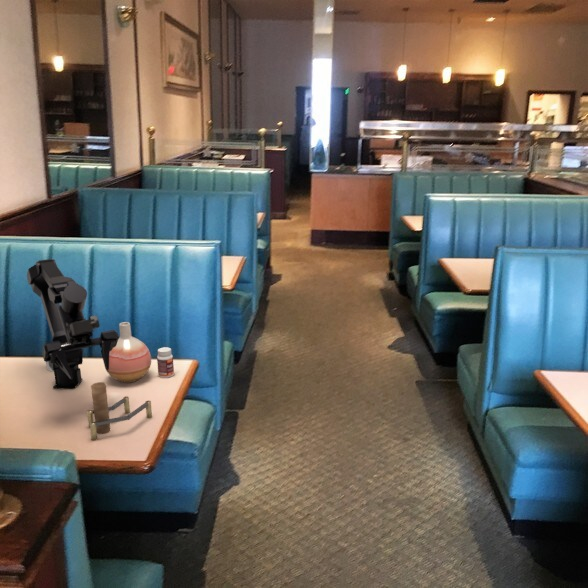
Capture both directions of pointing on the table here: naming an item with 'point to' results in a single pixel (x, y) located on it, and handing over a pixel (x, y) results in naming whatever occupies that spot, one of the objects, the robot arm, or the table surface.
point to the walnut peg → (100, 406)
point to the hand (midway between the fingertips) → (90, 374)
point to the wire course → (127, 410)
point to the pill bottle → (165, 362)
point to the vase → (128, 357)
